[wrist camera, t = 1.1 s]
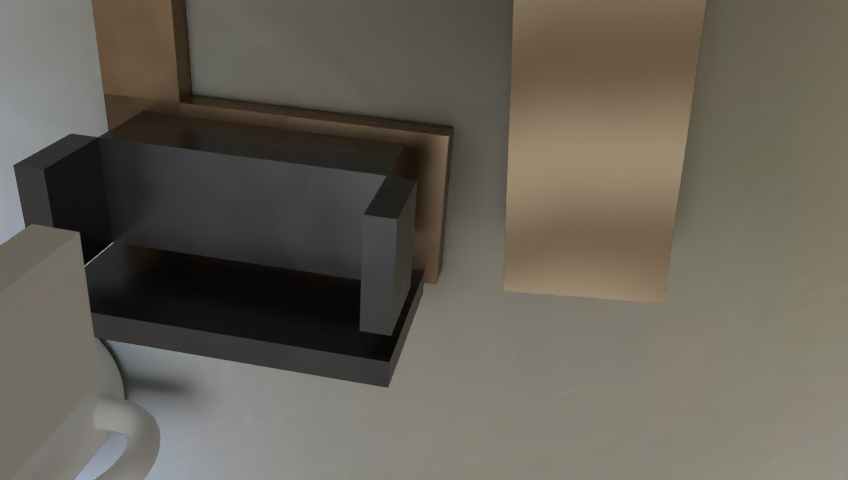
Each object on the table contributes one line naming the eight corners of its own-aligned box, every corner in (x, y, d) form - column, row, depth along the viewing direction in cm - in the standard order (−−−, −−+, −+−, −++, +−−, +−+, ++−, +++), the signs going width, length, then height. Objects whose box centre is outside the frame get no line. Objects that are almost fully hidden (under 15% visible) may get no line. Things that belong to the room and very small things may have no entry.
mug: (194, 316, 34) (52, 486, 25) (213, 460, 38) (96, 652, 29) (-49, 285, 36) (-263, 433, 27) (-7, 425, 40) (-183, 596, 30)
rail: (536, -277, 22) (524, -308, 18) (717, -284, 21) (752, -320, 17) (515, 225, 29) (503, 290, 25) (650, 234, 29) (663, 303, 24)
